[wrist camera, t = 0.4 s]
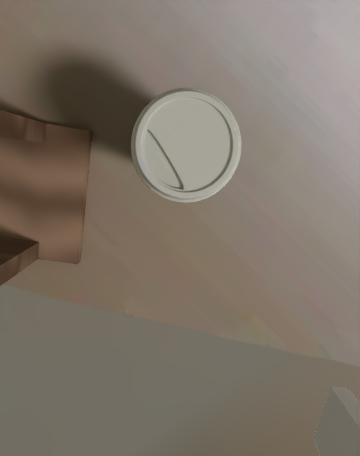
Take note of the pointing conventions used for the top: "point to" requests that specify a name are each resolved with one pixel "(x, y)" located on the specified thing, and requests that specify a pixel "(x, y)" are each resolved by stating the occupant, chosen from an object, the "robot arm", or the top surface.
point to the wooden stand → (41, 192)
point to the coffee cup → (186, 145)
